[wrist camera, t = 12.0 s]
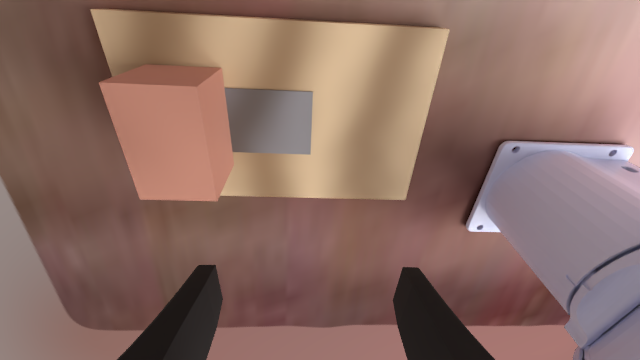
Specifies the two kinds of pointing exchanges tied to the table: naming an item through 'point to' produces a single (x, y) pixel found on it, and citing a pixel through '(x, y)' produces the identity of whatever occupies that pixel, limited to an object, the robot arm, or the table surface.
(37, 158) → the table surface
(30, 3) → the table surface
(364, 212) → the table surface
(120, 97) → the block
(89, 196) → the table surface
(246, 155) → the board
